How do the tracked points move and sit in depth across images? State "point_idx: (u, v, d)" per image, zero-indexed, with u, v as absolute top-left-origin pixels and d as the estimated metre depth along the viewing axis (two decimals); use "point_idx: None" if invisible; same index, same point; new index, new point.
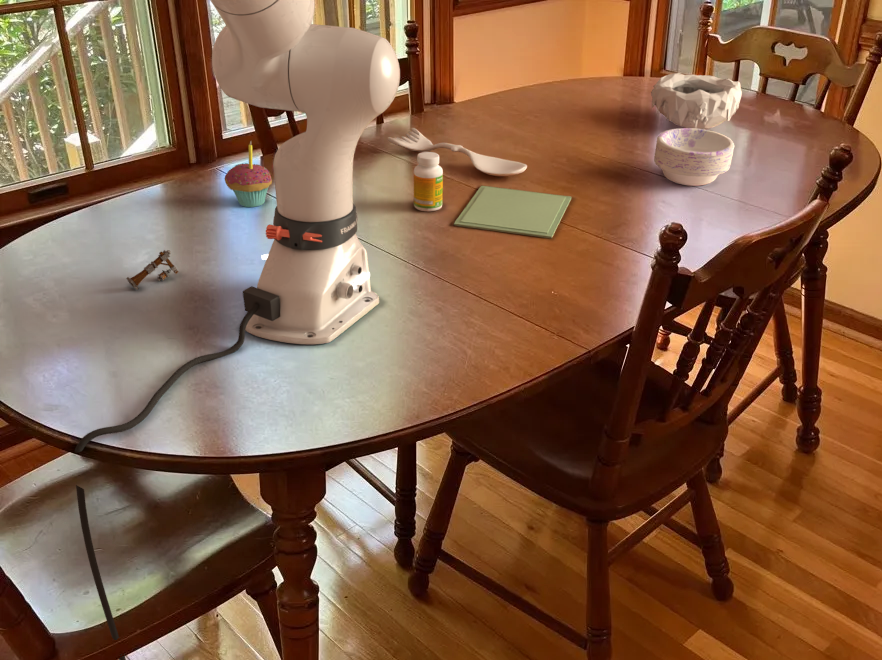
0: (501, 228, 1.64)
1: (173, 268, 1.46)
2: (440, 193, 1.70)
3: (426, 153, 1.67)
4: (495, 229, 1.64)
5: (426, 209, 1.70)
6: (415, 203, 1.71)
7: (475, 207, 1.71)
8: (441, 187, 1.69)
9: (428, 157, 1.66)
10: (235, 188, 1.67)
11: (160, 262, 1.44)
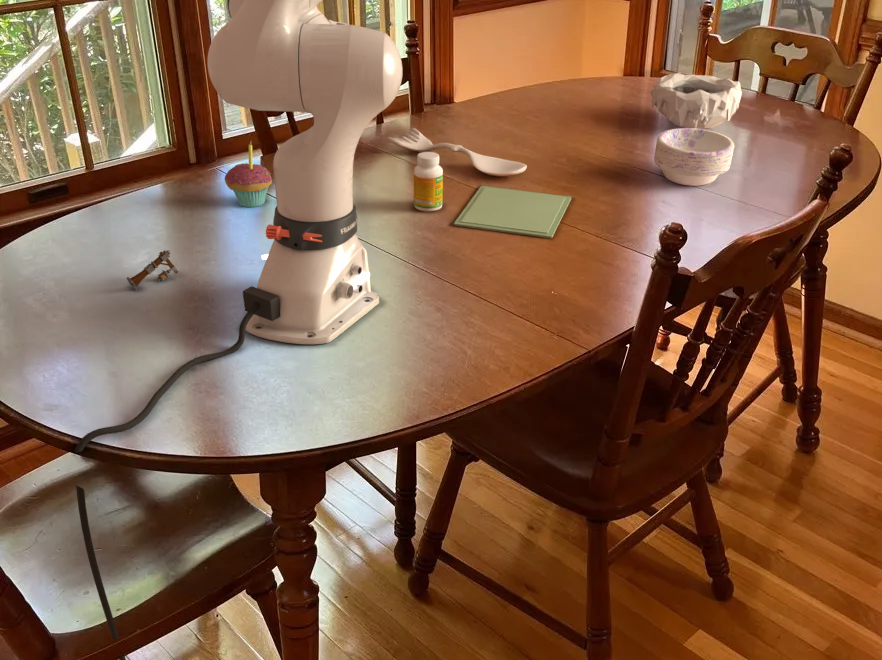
0: (501, 228, 1.64)
1: (173, 268, 1.46)
2: (440, 193, 1.70)
3: (426, 153, 1.67)
4: (495, 229, 1.64)
5: (426, 209, 1.70)
6: (415, 203, 1.71)
7: (475, 207, 1.71)
8: (441, 187, 1.69)
9: (428, 157, 1.66)
10: (235, 188, 1.67)
11: (160, 262, 1.44)
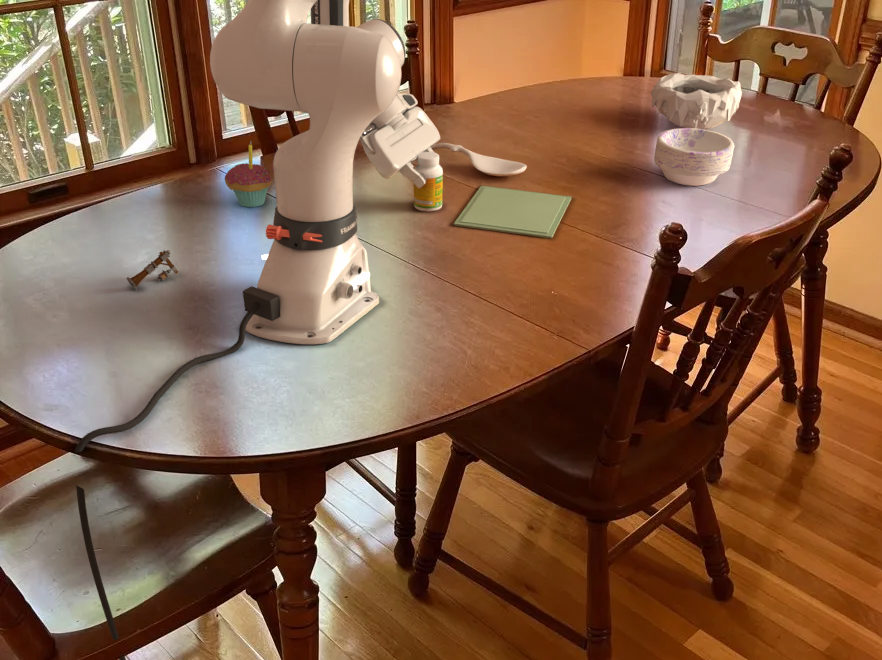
0: (501, 228, 1.64)
1: (173, 268, 1.46)
2: (440, 193, 1.70)
3: (426, 153, 1.67)
4: (495, 229, 1.64)
5: (426, 209, 1.70)
6: (415, 203, 1.71)
7: (475, 207, 1.71)
8: (441, 187, 1.69)
9: (428, 157, 1.66)
10: (235, 188, 1.67)
11: (160, 262, 1.44)
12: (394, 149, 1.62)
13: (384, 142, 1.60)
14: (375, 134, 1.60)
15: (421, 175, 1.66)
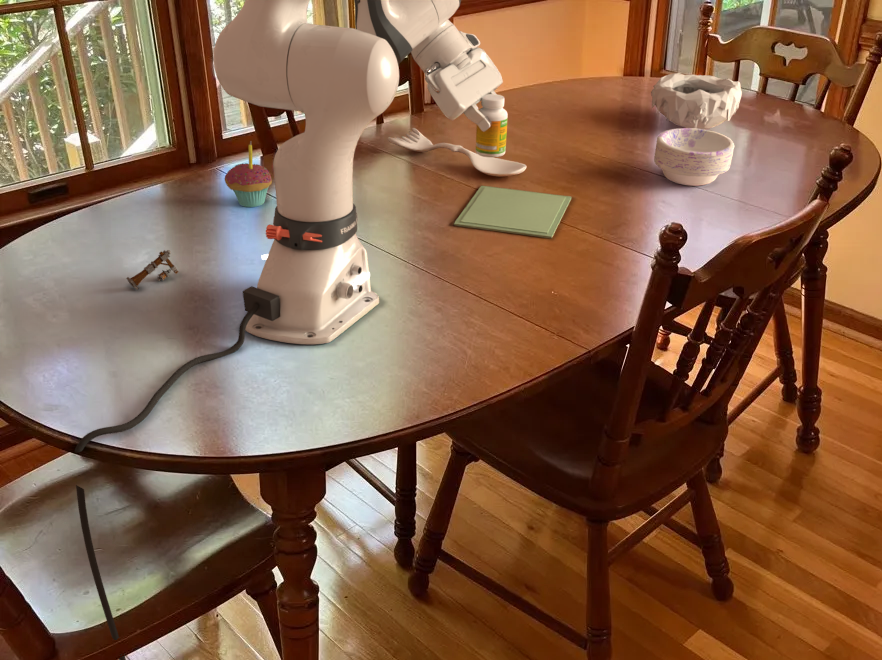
0: (501, 228, 1.64)
1: (173, 268, 1.46)
2: (504, 137, 1.62)
3: (490, 95, 1.60)
4: (495, 229, 1.64)
5: (489, 155, 1.62)
6: (477, 149, 1.63)
7: (475, 207, 1.71)
8: (505, 131, 1.61)
9: (493, 99, 1.58)
10: (235, 188, 1.67)
11: (160, 262, 1.44)
12: (460, 89, 1.54)
13: (450, 80, 1.52)
14: (440, 72, 1.52)
15: (486, 118, 1.58)
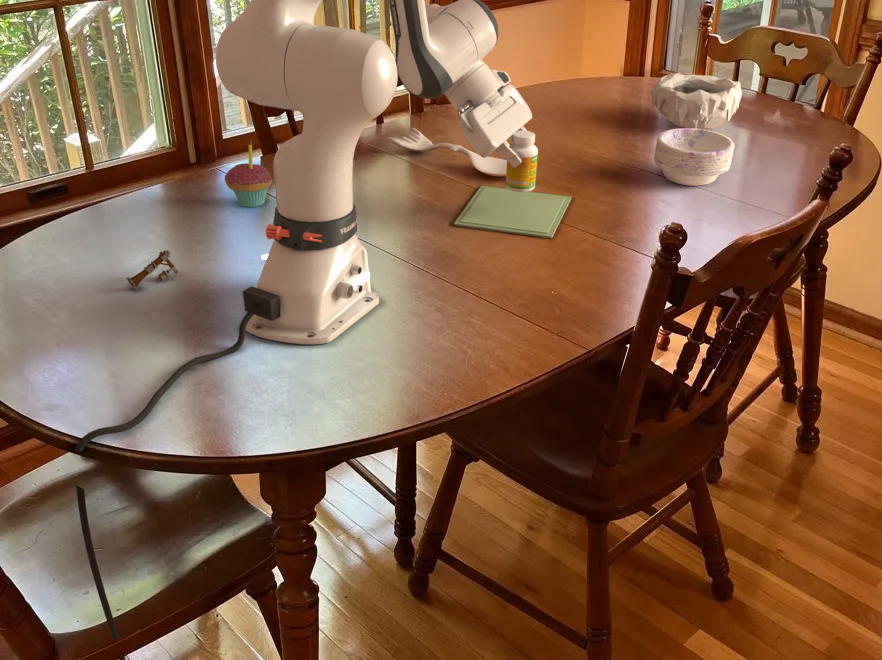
0: (501, 228, 1.64)
1: (173, 268, 1.46)
2: (534, 173, 1.65)
3: (521, 132, 1.62)
4: (495, 229, 1.64)
5: (520, 190, 1.65)
6: (508, 184, 1.66)
7: (475, 207, 1.71)
8: (535, 167, 1.64)
9: (524, 136, 1.61)
10: (235, 188, 1.67)
11: (160, 262, 1.44)
12: (492, 127, 1.57)
13: (482, 119, 1.55)
14: (473, 111, 1.55)
15: (517, 154, 1.61)
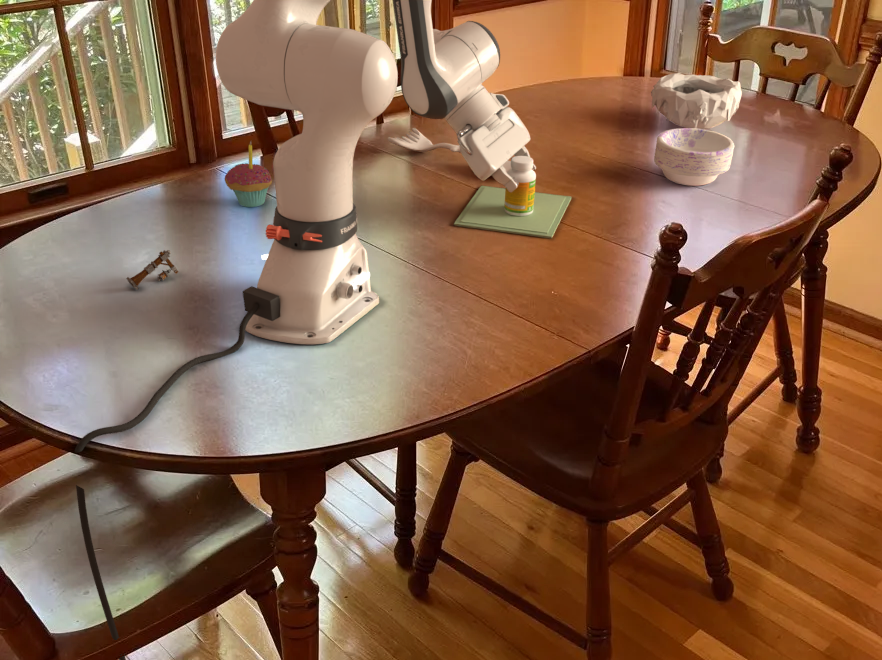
0: (501, 228, 1.64)
1: (173, 268, 1.46)
2: (532, 197, 1.67)
3: (519, 157, 1.65)
4: (495, 229, 1.64)
5: (518, 214, 1.68)
6: (506, 208, 1.69)
7: (475, 207, 1.71)
8: (534, 191, 1.67)
9: (522, 161, 1.63)
10: (235, 188, 1.67)
11: (160, 262, 1.44)
12: (491, 151, 1.59)
13: (481, 142, 1.58)
14: (472, 135, 1.57)
15: (513, 179, 1.62)
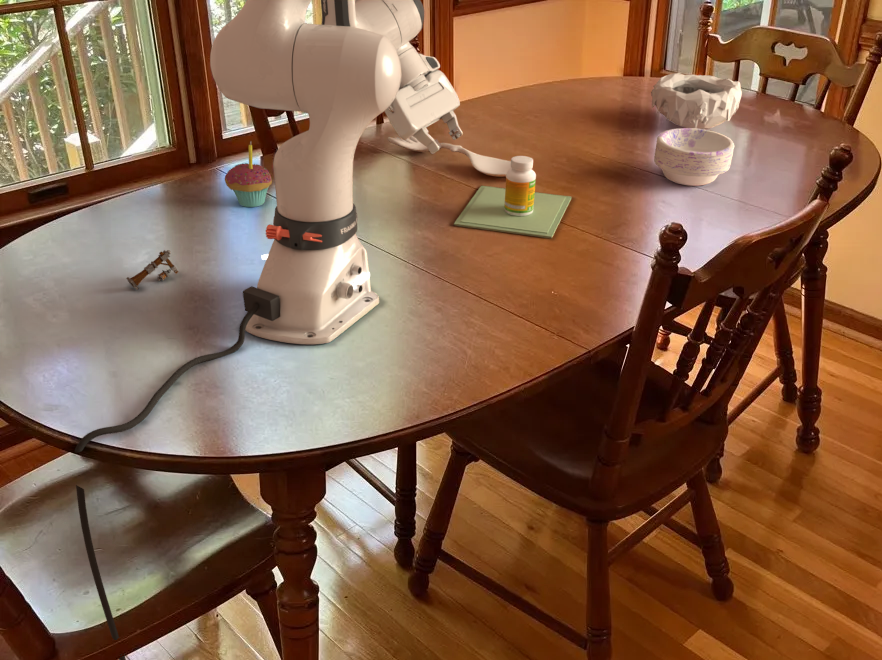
0: (501, 228, 1.64)
1: (173, 268, 1.46)
2: (532, 197, 1.67)
3: (519, 157, 1.65)
4: (495, 229, 1.64)
5: (518, 214, 1.68)
6: (506, 208, 1.69)
7: (475, 207, 1.71)
8: (534, 191, 1.67)
9: (522, 161, 1.63)
10: (235, 188, 1.67)
11: (160, 262, 1.44)
12: (414, 110, 1.60)
13: (405, 101, 1.59)
14: None
15: (435, 141, 1.63)
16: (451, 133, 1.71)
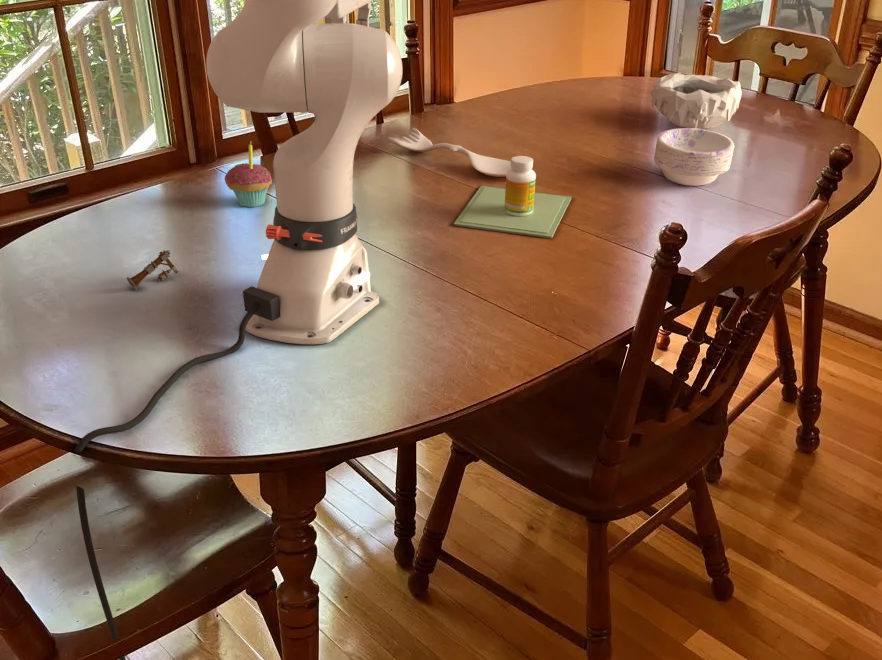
0: (501, 228, 1.64)
1: (173, 268, 1.46)
2: (532, 197, 1.67)
3: (519, 157, 1.65)
4: (495, 229, 1.64)
5: (518, 214, 1.68)
6: (506, 208, 1.69)
7: (475, 207, 1.71)
8: (533, 191, 1.67)
9: (522, 161, 1.63)
10: (235, 188, 1.67)
11: (160, 262, 1.44)
12: None
13: None
14: None
15: None
16: (358, 23, 1.59)
